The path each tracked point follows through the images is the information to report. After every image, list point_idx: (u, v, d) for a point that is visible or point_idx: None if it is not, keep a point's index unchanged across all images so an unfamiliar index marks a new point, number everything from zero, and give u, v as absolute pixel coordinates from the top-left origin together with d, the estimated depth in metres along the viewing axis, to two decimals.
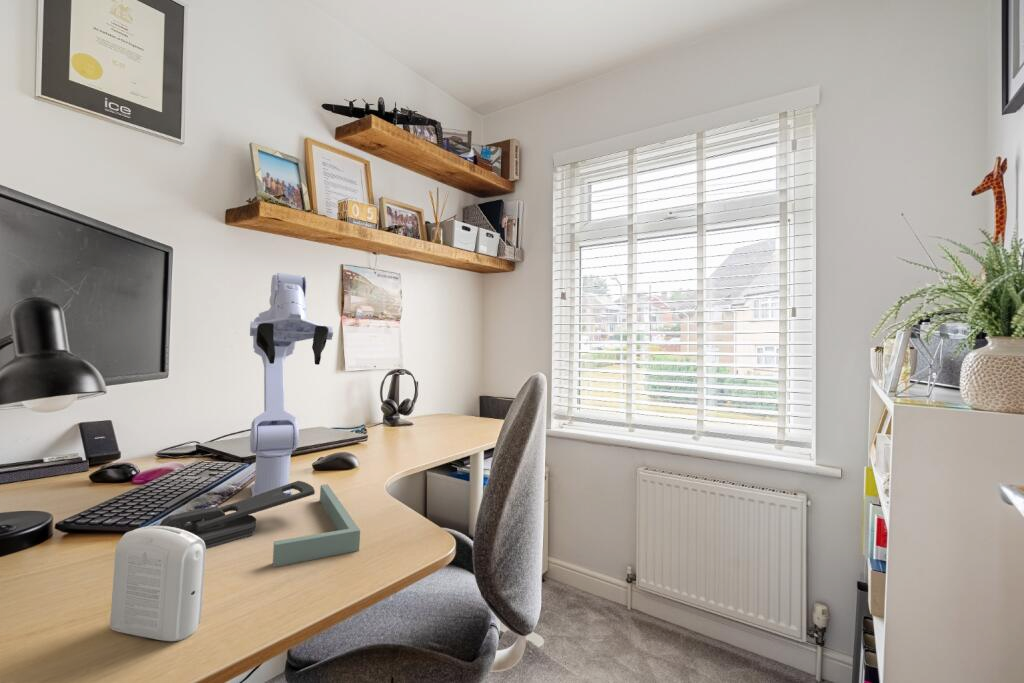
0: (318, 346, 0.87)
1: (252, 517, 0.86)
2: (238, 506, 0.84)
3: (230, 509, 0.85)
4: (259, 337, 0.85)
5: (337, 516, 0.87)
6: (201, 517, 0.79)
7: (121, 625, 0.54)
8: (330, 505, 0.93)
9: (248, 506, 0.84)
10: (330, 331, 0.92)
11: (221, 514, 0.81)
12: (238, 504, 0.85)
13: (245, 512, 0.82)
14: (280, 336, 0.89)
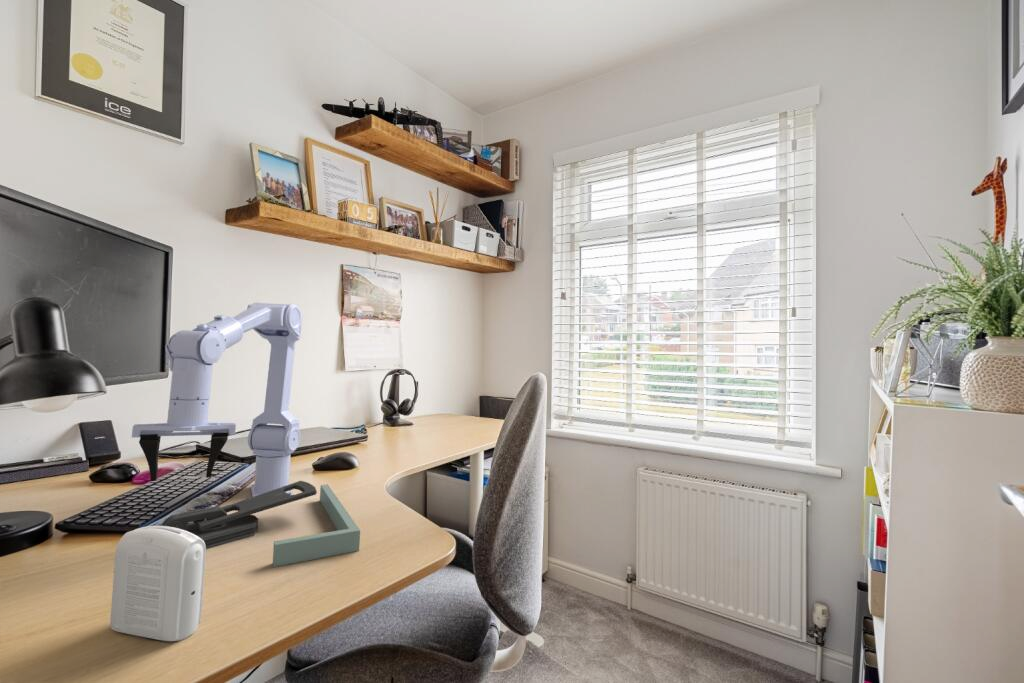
0: (210, 464, 0.80)
1: (254, 517, 0.86)
2: (240, 506, 0.84)
3: (232, 509, 0.85)
4: None
5: (337, 516, 0.87)
6: (203, 517, 0.79)
7: (121, 625, 0.54)
8: (330, 505, 0.93)
9: (250, 506, 0.84)
10: (231, 433, 0.82)
11: (223, 514, 0.81)
12: (240, 504, 0.85)
13: (247, 512, 0.82)
14: None
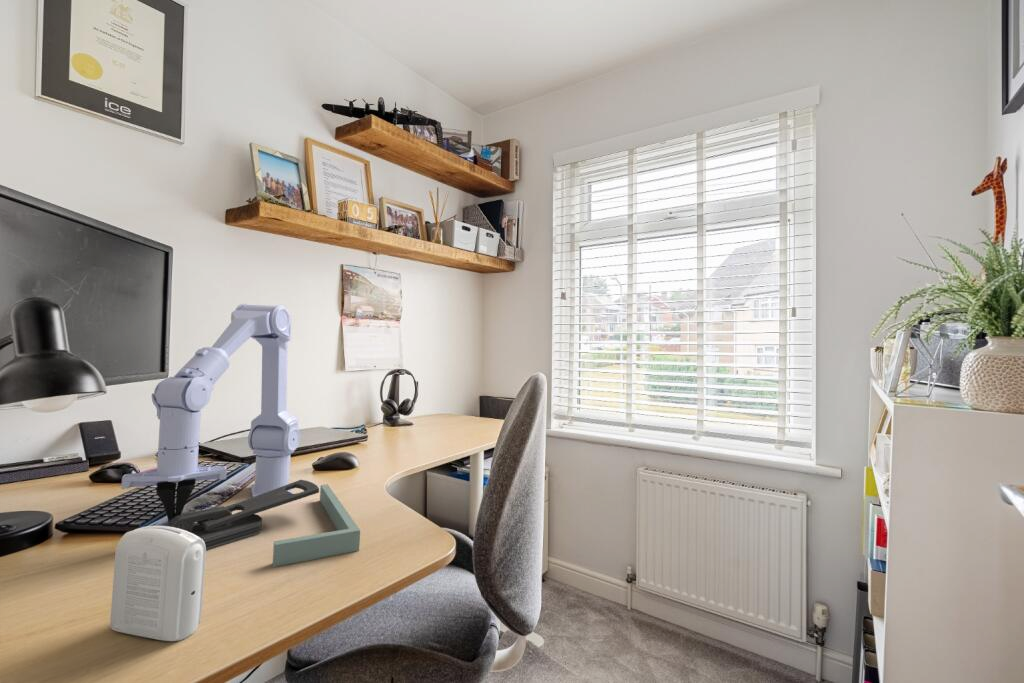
0: (177, 513, 0.78)
1: (257, 516, 0.86)
2: (243, 505, 0.85)
3: (235, 508, 0.85)
4: None
5: (337, 516, 0.87)
6: (208, 517, 0.79)
7: (121, 625, 0.54)
8: (330, 505, 0.93)
9: (255, 505, 0.85)
10: (222, 477, 0.82)
11: (228, 513, 0.82)
12: (243, 503, 0.86)
13: (252, 511, 0.83)
14: None
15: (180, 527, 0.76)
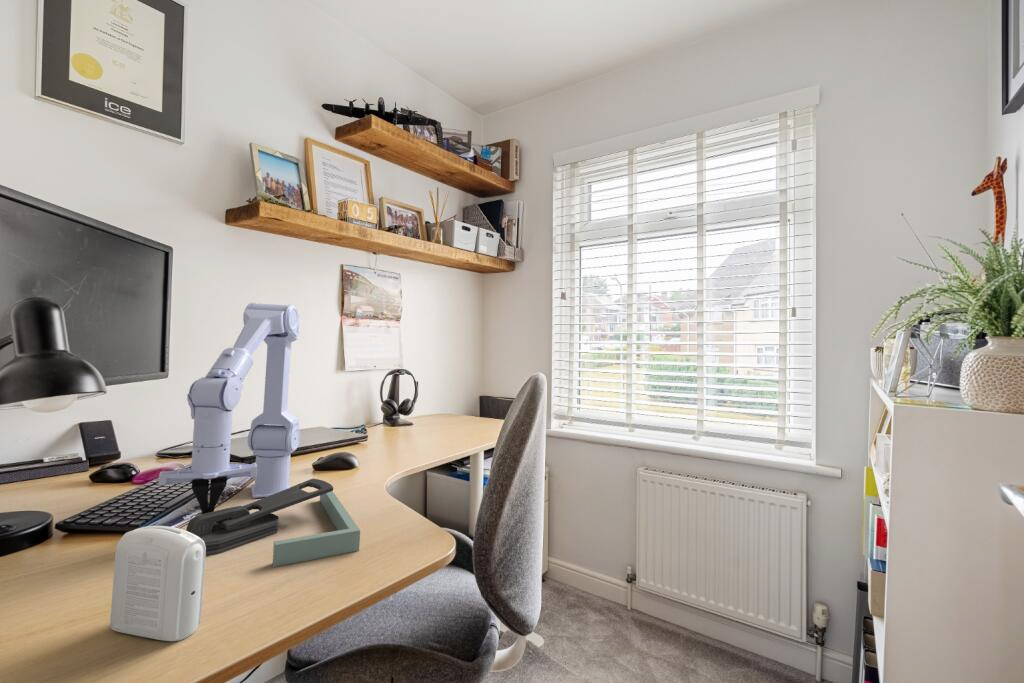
0: (210, 509, 0.81)
1: (274, 515, 0.87)
2: (260, 504, 0.85)
3: (252, 508, 0.85)
4: None
5: (337, 516, 0.87)
6: (228, 516, 0.80)
7: (121, 625, 0.54)
8: (330, 505, 0.93)
9: (272, 504, 0.85)
10: (253, 475, 0.84)
11: (246, 513, 0.82)
12: (260, 503, 0.86)
13: (270, 510, 0.84)
14: None
15: (201, 527, 0.76)
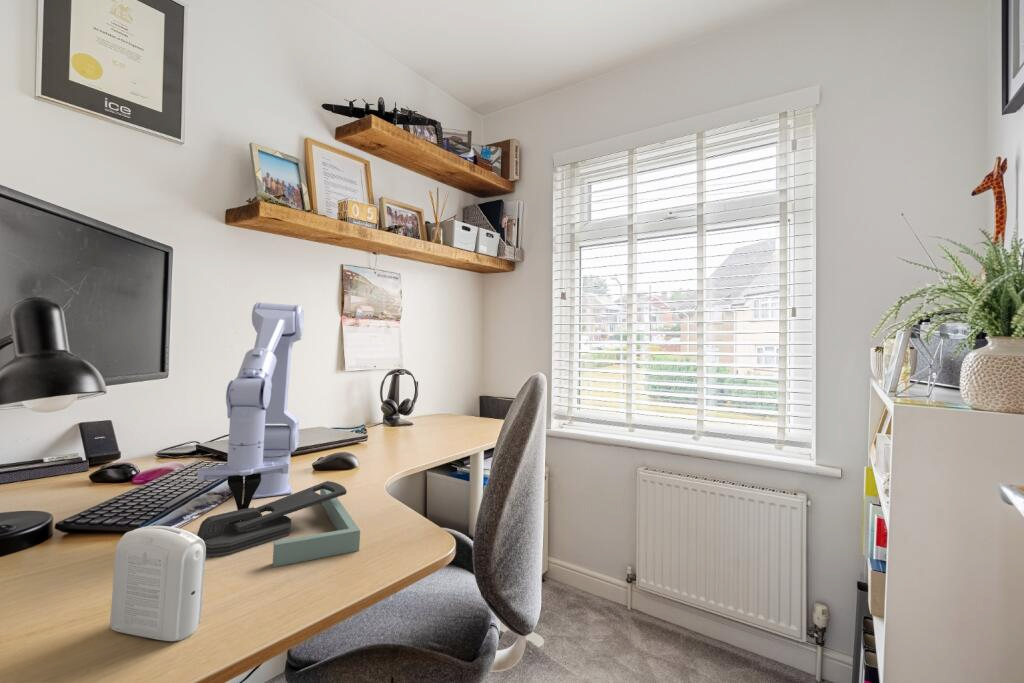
0: (245, 504, 0.83)
1: (286, 517, 0.86)
2: (273, 506, 0.85)
3: (265, 510, 0.85)
4: None
5: (337, 516, 0.87)
6: (240, 518, 0.79)
7: (121, 625, 0.54)
8: (330, 505, 0.93)
9: (284, 506, 0.85)
10: (285, 472, 0.87)
11: (258, 515, 0.82)
12: (273, 505, 0.86)
13: (282, 512, 0.83)
14: None
15: (212, 528, 0.76)
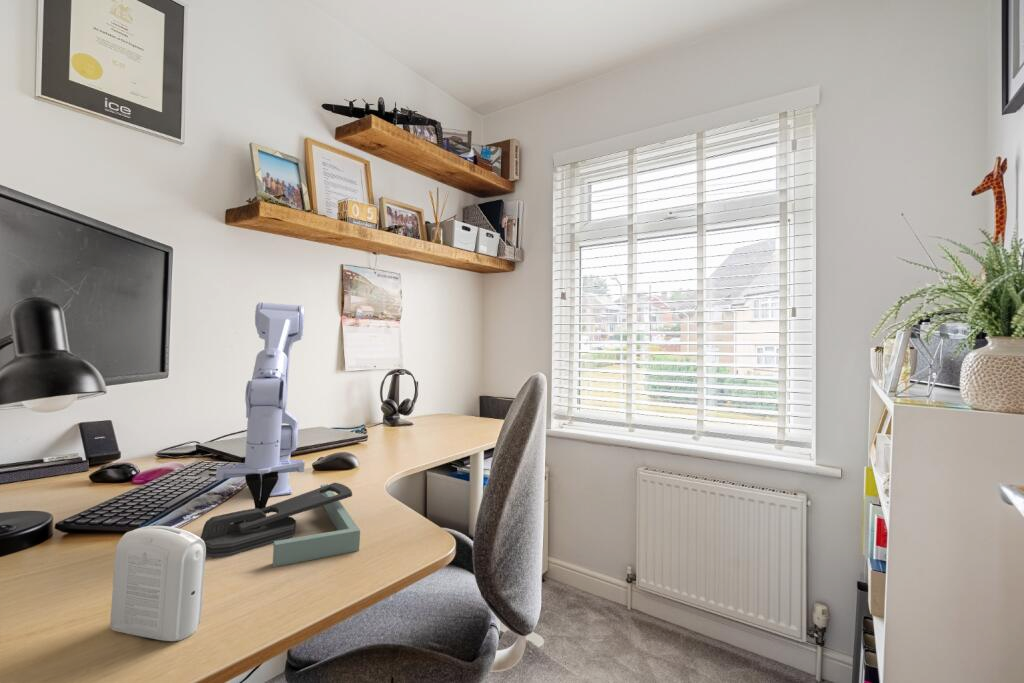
0: (263, 502, 0.85)
1: (292, 519, 0.86)
2: (278, 507, 0.84)
3: (270, 510, 0.85)
4: None
5: (337, 516, 0.87)
6: (243, 518, 0.79)
7: (121, 625, 0.54)
8: (330, 505, 0.93)
9: (288, 508, 0.84)
10: (301, 470, 0.89)
11: (262, 515, 0.81)
12: (278, 506, 0.85)
13: (285, 514, 0.82)
14: None
15: (216, 528, 0.76)
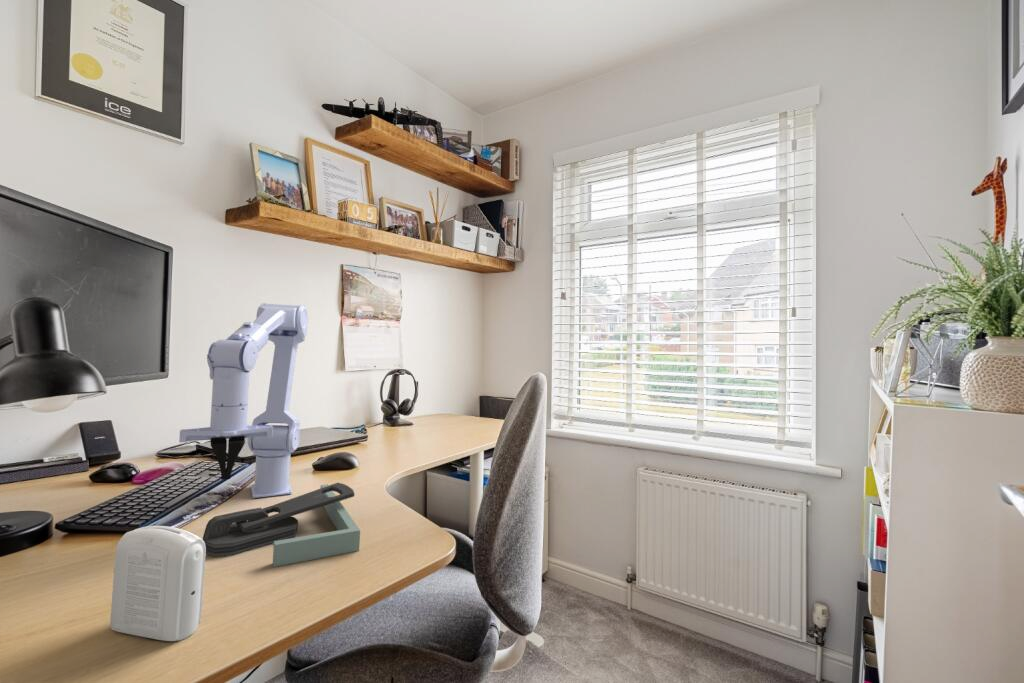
0: (229, 466, 0.83)
1: (294, 519, 0.86)
2: (280, 507, 0.85)
3: (273, 510, 0.85)
4: None
5: (337, 516, 0.87)
6: (245, 518, 0.79)
7: (121, 625, 0.54)
8: (330, 505, 0.93)
9: (291, 508, 0.84)
10: (269, 435, 0.87)
11: (264, 515, 0.81)
12: (280, 505, 0.85)
13: (288, 514, 0.83)
14: None
15: (218, 528, 0.77)
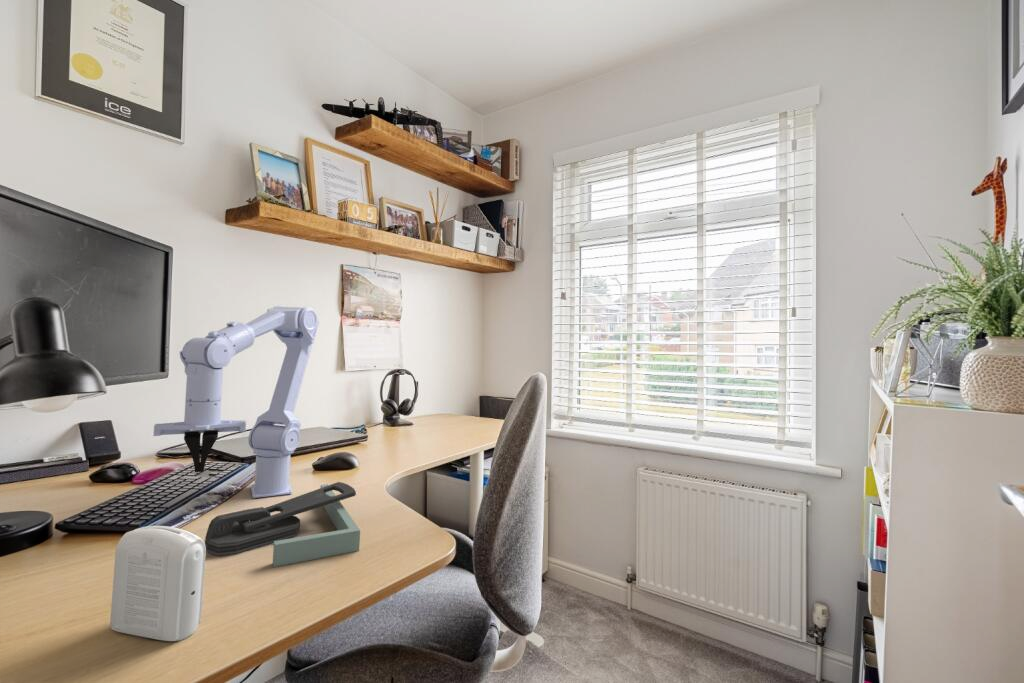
0: (202, 459, 0.86)
1: (296, 518, 0.86)
2: (282, 506, 0.85)
3: (275, 510, 0.85)
4: None
5: (337, 516, 0.87)
6: (248, 517, 0.80)
7: (121, 625, 0.54)
8: (330, 505, 0.93)
9: (293, 507, 0.85)
10: (242, 430, 0.90)
11: (267, 515, 0.82)
12: (282, 505, 0.86)
13: (290, 513, 0.83)
14: None
15: (221, 527, 0.77)
